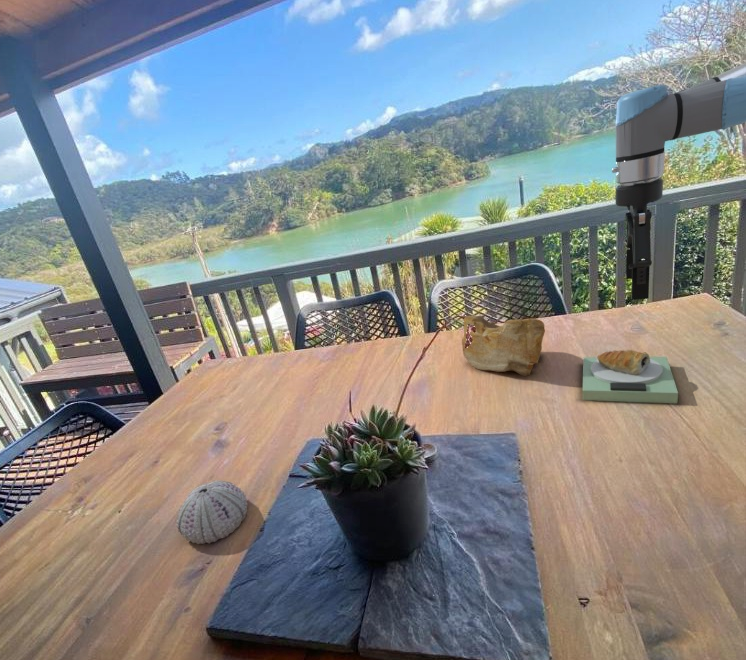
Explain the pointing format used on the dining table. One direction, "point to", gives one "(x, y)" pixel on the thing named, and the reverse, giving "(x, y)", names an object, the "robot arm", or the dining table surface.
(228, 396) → the dining table surface
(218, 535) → the sea urchin shell
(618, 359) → the pastry
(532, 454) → the dining table surface
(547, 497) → the dining table surface
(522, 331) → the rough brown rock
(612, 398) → the scale
